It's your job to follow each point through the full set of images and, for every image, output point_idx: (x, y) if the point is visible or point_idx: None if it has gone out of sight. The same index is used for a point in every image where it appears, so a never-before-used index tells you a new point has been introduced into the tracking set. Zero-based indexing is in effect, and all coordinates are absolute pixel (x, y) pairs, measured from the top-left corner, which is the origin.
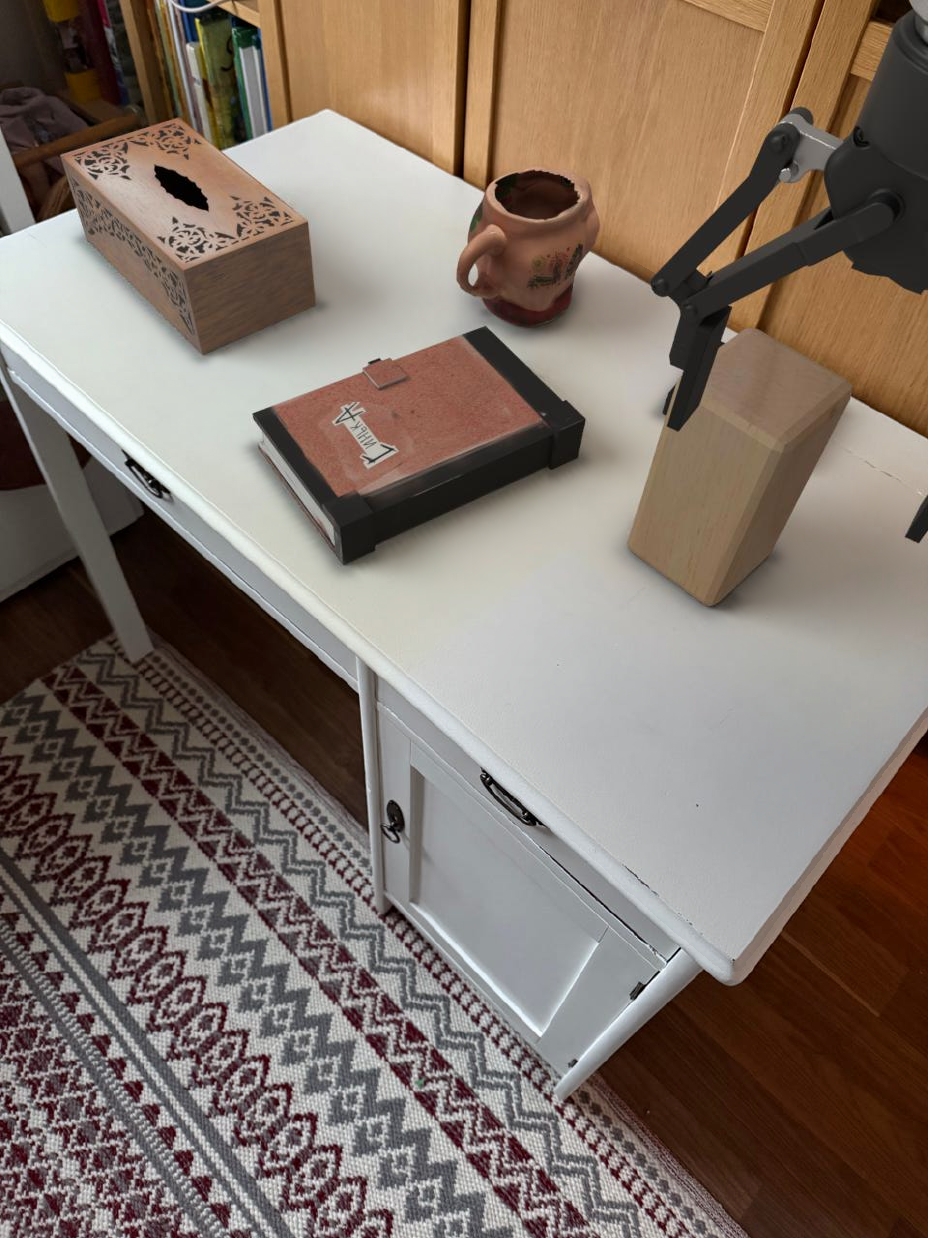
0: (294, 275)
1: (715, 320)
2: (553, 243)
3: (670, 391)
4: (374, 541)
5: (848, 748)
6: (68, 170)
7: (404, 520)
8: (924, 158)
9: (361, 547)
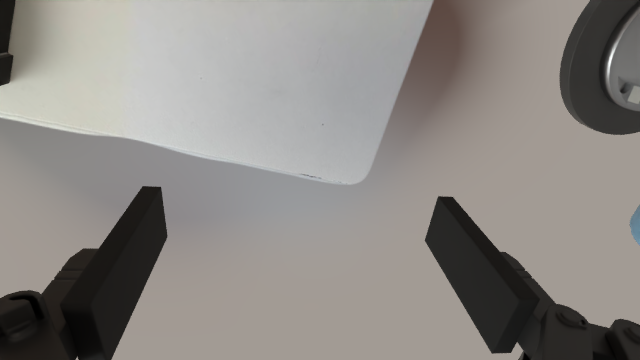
0: None
1: (91, 340)
2: None
3: None
4: (5, 58)
5: (399, 36)
6: None
7: (1, 23)
8: None
9: (3, 69)
